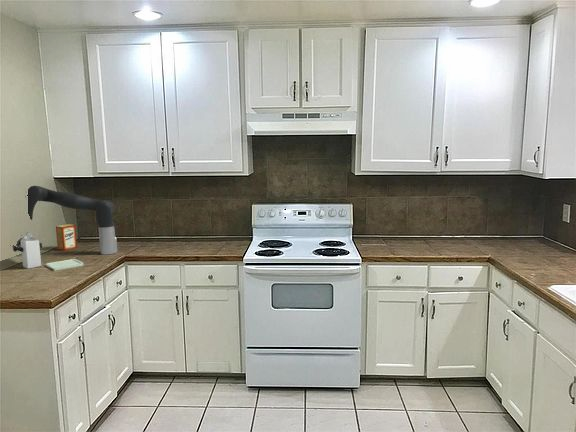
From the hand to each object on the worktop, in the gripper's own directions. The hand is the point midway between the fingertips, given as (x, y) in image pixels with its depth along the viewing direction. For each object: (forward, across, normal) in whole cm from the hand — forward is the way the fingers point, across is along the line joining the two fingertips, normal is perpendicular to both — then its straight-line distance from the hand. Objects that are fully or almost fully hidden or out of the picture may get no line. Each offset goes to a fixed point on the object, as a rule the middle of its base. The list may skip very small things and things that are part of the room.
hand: (30, 248), depth 251 cm
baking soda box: (-37, +30, +11) cm, 48 cm away
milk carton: (0, 0, +11) cm, 11 cm away
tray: (+10, +14, +10) cm, 20 cm away
